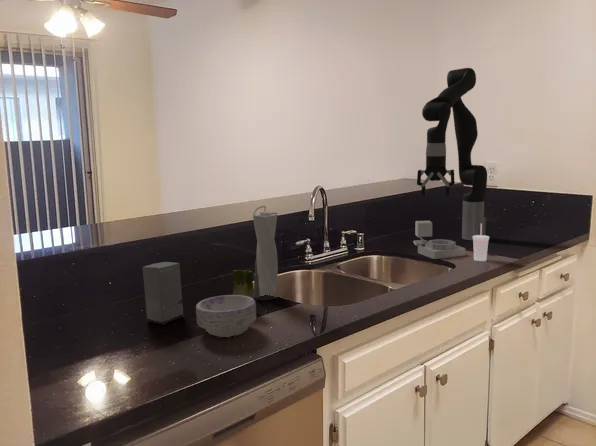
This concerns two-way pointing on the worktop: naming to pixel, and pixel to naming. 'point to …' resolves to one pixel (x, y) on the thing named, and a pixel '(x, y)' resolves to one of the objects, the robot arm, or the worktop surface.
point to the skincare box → (162, 291)
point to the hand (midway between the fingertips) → (435, 196)
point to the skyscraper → (265, 254)
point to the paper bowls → (226, 314)
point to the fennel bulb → (243, 283)
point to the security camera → (422, 231)
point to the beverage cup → (480, 246)
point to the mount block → (441, 249)
